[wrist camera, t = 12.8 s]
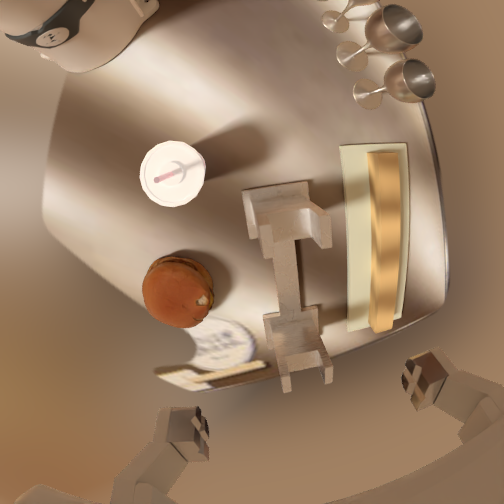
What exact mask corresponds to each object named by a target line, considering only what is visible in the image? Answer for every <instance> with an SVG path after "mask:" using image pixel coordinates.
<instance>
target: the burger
mask: <svg viewBox="0 0 504 504" xmlns="http://www.w3.org/2000/svg"><path fill="white" fill-rule="evenodd" d="M142 292H143V297H144V302H145V305H146V307H147V310H148V311H149V313H150V314H151V315H152V316H153V317H154V318H155V319H157V320H159V321H160V322H163V323H165V324H168V325H171V326H174V327H177V328H191V327H194V326H196V325H197V324H199V323H201V322H202V321H203V318H205V317H206V316H207V315H208V311H209V310H210V309H211V308H212V305H213V303H214V293H213V281H212V278H211V276H210V275H209V273H208V271H207V270H205V268H204V266H202V265H201V264H200V263H198V262H196V261H194V260H192V259H188V258H186V259H185V258H180V257H174V256H173V257H166V258H163V259H158V260H156V261H154V262H153V264H152V265H151V266H150V268H149V270H148V272H147V274H146V276H145V278H144V281H143V285H142Z"/></svg>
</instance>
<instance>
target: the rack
mask: <svg viewBox="0 0 504 504" xmlns="http://www.w3.org/2000/svg"><path fill="white" fill-rule="evenodd" d="M242 196H243V202H244V208H245V214H246V220H247V226H248V232H249V238H250V239H254V238H259V242H260V246H261V249H262V253H263V256H264V259H267V258H272V260H273V267H274V274H275V282H276V289H277V297H278V304H279V312H277V313H272V314H266V315H263V321H264V327H265V333H266V339H267V345H268V350H270V349H275V354H276V359H277V363H278V368H279V373H280V378H281V383H282V388H283V393H286V392H291V382H290V374H289V372H292V371H297V370H302V369H307V368H311V367H316V366H318V367H319V370H320V372H321V375H322V378H323V381H324V384H328V383H332V381H333V365H332V363H331V360H330V358H329V355H328V353H327V351H326V348H325V346H324V344H323V342H322V339H321V337H320V335H319V325H318V308H317V306H316V305H314V306H309V307H304V308H301V304H300V293H299V282H298V271H297V261H296V251H295V242H294V240H297V239H303V238H309V237H312V238H313V239H314V240H315V242H316V243H317V244H318V245H319V246H320V248H321V249H325V248H330V247H332V235H331V220H330V214H328V213H327V212H326V211H324V210H323V209H321V208H320V207H319V206H317V205H316V204H314V203H313V202H311V201H310V198H309V189H308V182H307V181H301V182H294V183H287V184H280V185H273V186H266V187H260V188H254V189H247V190H242Z"/></svg>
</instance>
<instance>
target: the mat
mask: <svg viewBox="0 0 504 504" xmlns="http://www.w3.org/2000/svg"><path fill="white" fill-rule="evenodd" d="M339 148H340V157H341V166H342V176H343V187H344V199H345V214H346V233H347V266H348V300H347V331H348V332H351V331H355V330H359V329H363V328H367V327H370V325H369V323H368V317H369V303H370V284H371V204H370V186H369V172H368V161H367V153H368V152H396V153H398V161H399V177H400V209H401V222H400V255H399V271H398V283H397V293H396V302H395V310H394V318H393V320H395V319H398V318H401V314H402V307H403V299H404V291H405V282H406V271H407V259H408V241H409V177H408V160H407V148H406V143H389V144H362V145H345V146H339Z"/></svg>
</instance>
